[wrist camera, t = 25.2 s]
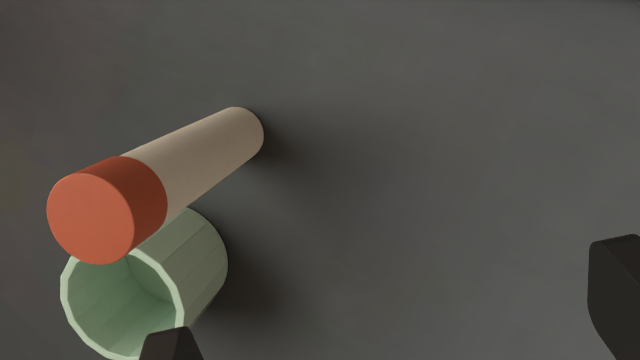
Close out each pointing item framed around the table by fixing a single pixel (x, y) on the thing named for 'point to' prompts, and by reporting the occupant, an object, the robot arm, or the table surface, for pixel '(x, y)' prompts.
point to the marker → (148, 185)
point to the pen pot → (146, 287)
